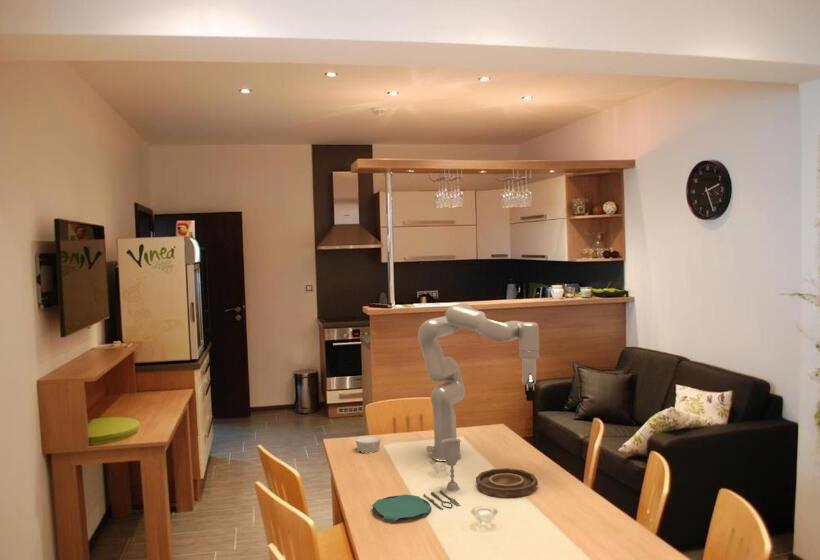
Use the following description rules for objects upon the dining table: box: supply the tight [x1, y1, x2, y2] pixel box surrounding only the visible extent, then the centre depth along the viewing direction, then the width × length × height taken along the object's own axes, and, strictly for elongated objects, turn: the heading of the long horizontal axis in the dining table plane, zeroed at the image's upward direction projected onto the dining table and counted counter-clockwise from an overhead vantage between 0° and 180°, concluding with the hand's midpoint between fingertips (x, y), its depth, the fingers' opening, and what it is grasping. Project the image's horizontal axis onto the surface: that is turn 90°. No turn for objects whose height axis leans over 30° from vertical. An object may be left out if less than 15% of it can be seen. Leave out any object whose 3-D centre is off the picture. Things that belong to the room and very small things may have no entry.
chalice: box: [442, 438, 462, 492], centre depth 238 cm, size 7×7×18 cm
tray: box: [475, 467, 539, 499], centre depth 238 cm, size 22×22×3 cm
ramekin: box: [355, 434, 382, 453], centre depth 288 cm, size 11×11×5 cm
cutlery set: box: [371, 489, 462, 524], centre depth 221 cm, size 20×30×2 cm, turn 115°
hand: (529, 397), depth 249 cm, fingers open, 9 cm apart
